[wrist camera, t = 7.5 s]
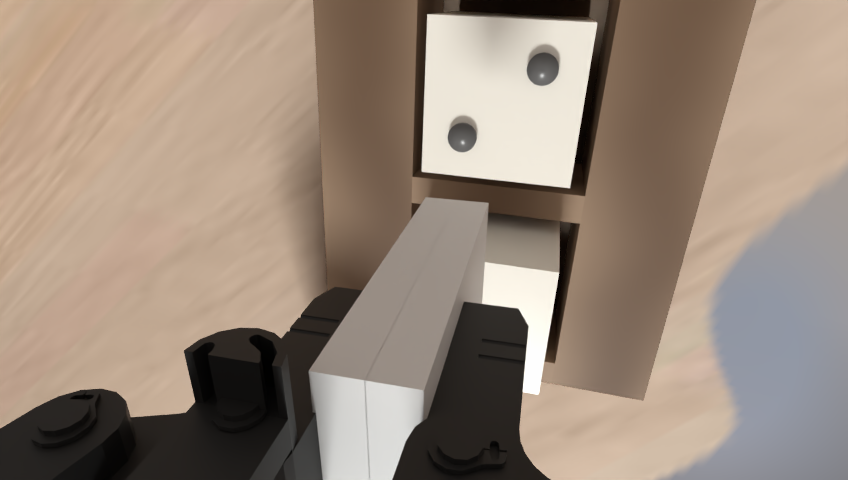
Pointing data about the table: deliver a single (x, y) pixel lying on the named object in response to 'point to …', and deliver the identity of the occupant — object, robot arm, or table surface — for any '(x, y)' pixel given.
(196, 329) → the table surface
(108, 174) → the table surface
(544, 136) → the tile
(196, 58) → the table surface
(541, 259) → the white cube with dot
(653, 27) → the brown tile rack
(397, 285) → the robot arm
